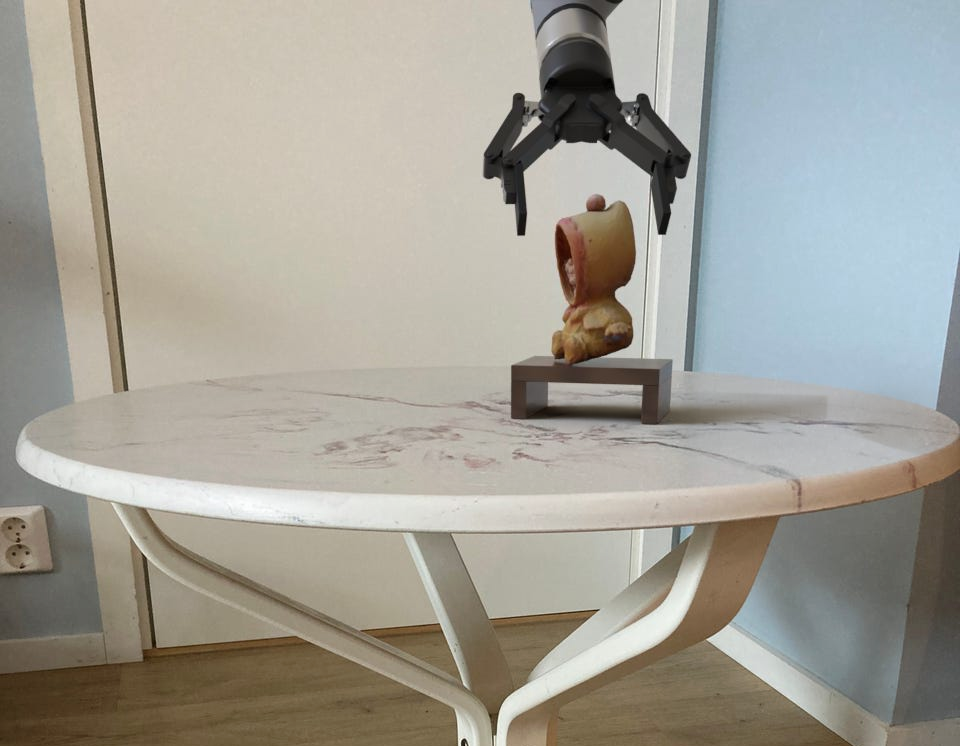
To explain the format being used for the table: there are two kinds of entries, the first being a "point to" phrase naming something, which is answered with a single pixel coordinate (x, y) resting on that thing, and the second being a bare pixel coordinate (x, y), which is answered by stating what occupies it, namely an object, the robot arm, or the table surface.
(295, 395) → the table surface
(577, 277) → the figurine
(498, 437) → the table surface
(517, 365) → the shelf
